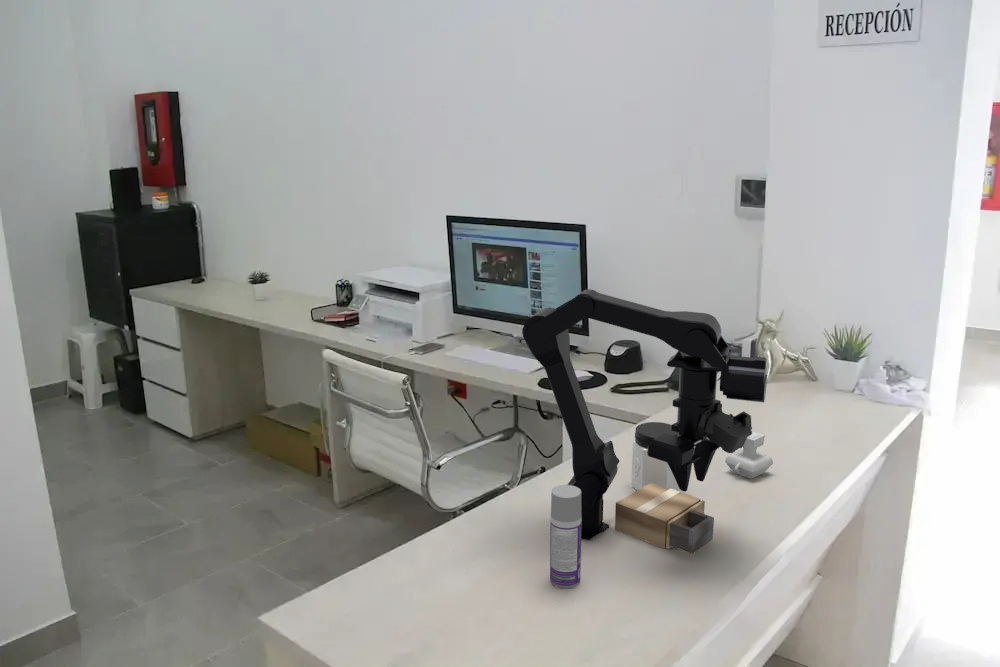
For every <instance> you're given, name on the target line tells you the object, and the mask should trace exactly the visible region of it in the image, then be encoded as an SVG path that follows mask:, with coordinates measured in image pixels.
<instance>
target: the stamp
mask: <svg viewBox="0 0 1000 667" xmlns="http://www.w3.org/2000/svg"><path fill="white" fill-rule="evenodd" d="M765 437H766V435H765V434H762V433H759V432H755V431H752V435H750V436H748V437H747V439H746V441H745V443H744V445H743V447H742V448H743V449H741V450H739V451H735V452H734V453H730V454H729V455H727V456H726V458H725V460H724V462H725V463H726V464H725V465H726V466H728V468H729V469H730V470H731V472H733V473H735V474H738V475H740V476H743V477H745V478H748V479H754V478H756V477H757V476H760V475H762V474H765V472H766V471H767V470H769V469H770V468H771V466H772V465H773V464H774V460H773V458H772V457H771V456H768V455H767V454H763V453H760V452H757V448H760V447H762V446H764V444H765V443H764V442H765Z"/></svg>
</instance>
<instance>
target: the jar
mask: <svg viewBox="0 0 1000 667" xmlns="http://www.w3.org/2000/svg"><path fill="white" fill-rule="evenodd" d="M671 429H672V424H670V423H665V422H661V421H651V422H650V421H647V422H643V423H640V424H638V425H636V427H635V432H634V438H635V439H634V440H632V456H631V458H632V459H631V482H630V484H631V486H632V487H633V488H634V490H636V491H637V490H639V489H641V488H643V487H644V486H646V485H648V484H650V483H651V482H652V483H655V484H658V485H661V486H664V487H667V488H670V489H674V490H677V491H679V490H680V489H679V486H678V484H677V482H676V480H675V478H674V476H673V473H672V471H671V469H670V467H669V465H668V463H667V462H665V461H661V460H658V459H655V458H652V457H649V456H648V455H647V447H648V443H649V442H650V441H651V440H653V439H655V438H657V437H659V436H661V435H663V434H664V433H665V434H669V435H672V436H675V437H677V436H679V432H675V431H672V430H671Z"/></svg>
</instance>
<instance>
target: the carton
mask: <svg viewBox="0 0 1000 667" xmlns="http://www.w3.org/2000/svg"><path fill="white" fill-rule="evenodd" d="M700 501H702V500H701V498H699V497H696V496H692V495H689V494H687V493H684V492H682V491H681V490H680V491H679V490H674V489H670V488H667V487H664V486H661V485H658V484H655V483H652V482H651V483H650V484H648V485H646V486H644V487H643V488H641V489H639V490H636V491H634V492H632V493H630V494H629V495H627V496H625V497H623V498H622V499H620V500H617V501H616V502H615V510H614V511H615V512H614V514H615V515H614V516H615V517H614V530H615V531H618V532H621V533H623V534H626V535H629V536H631V537H633V538H636V539H639V540H640V541H641V540H642V541H644V542H647V543H649V544H651V545H654V546H655V547H657V548H658V547H659V548H661V549H667V548H666V541H667V523H668V522H669V521H671V520H672V519H674V518H675V517H677V516H678V515H680V514H682V513H683V512H685V511H686V510H688V509H689V508H691V507H692V506H694V505H696V504H697V503H699V502H700Z"/></svg>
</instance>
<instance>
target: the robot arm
mask: <svg viewBox="0 0 1000 667" xmlns="http://www.w3.org/2000/svg"><path fill="white" fill-rule="evenodd" d="M585 319H590V320H594V321H597V322H600V323H601V322H602V323H605V324H608V325H612V326H615V327H620V328H623V329H626V330H629V331H633V332H635V333H636V332H637V333H640V334H644V335H647V336H651V337H654V338H656V339H659V340H661V341H662V342H663V343H665V344H667V345H668V346H670V347H671V348H673V349H674V350H675V351H676V350H677V351H676V353H675V354H674V355H672V356H670V358H669V359H668V361H667V363H666V366H668V367H670V368H678V369H679V375H678V376H679V378H678V380H679V381H678V397H676V398H674V399H673V400H672V407H674V408H677V418H676V422H674V423H672V424H671V425H672V429H671V430H672V431H675V432H679V436H677V437H675V436H672V435H669V434H665V433H664V434H663V435H661V436H659V437H657V438H655V439H653V440H651V441H650V442H649V443H648V447H647V455H648V456H649V457H652V458H655V459H658V460H661V461H665V462H667V463H668V465H669V467H670V469H671V471H672V473H673V476H674V478H675V480H676V482H677V484H678V486H679V490H680V492H683V493H684V492H685V493H686V492H687V491H688V488H689V484H690V479H691V473H692V466H693V470H694V474H695V477H696V480H697V481H699V482H704V481H705V478H706V476H707V474H708V471H709V468H710V466H711V464H712V460H713V458H714V455H715V453H716V451H717V450H718V449H719V448H721V450H722V451H724V452H725V453H728V454H733V453H736V452H737V450H739V449H742V448H743V445H744V443H745V441H746V439H747V437H748V436H750V435H752V432H753V431H752V429H753V427H752V415H750V414H749V413H747V412H746V411H742V412H740V413H738V414H736V415H734V414H732V413H729V414H727V413H725V412H723V403H722V402H721V400H719V399H716V397H717V396H716V394H717V383H718V382H717V380H718V372H720V378H719V391H720V392H722V396H725V397H726V399H729V400H736V401H747V402H757V403H765V402H766V401H765V400H766V394H767V385H768V374H767V357H765V356H764V357H763V356H752V357H749V356H740V355H738V356H737V355H733V350H732V349H731V347H730V346H729V344H728V343H727V341H726V340H725V339H724V337H723V336H722V328H721V325H720V322H719V321H718V320H717V317H715V316H714V315H711V314H710V313H705V312H695V311H687V310H685V311H670V310H662V309H658V308H655V307H653V306H652V307H651V306H647V305H644V304H641V303H636V302H633V301H629V300H625V299H622V298H618V297H615V296H611V295H608V294H605V293H604V294H603V293H600V292H598V291H596V290H594V289H590V288H587V289H584V290H583V291H580V293H579V294H577V295H576V296H575V297H573V298H571V299H570V300H567V301H566V302H564V303H562V304H560V305H559V306H557V307H556V308H555V307H554V308H553V307H544V308H541V310H539V311H537V312H536V313H534V314H533V315H531V316H530V317H529V318H528V319H526V321H524V324H523V327H522V330H521V332H522V338H523V340H524V342H525V344H526V345H527V347H528V349H529V351H530V352H531V355H532V356H533V357H534V358H535V360H536V361H537V362H538V363H539V364H540V365H541V366H542V367H543V370H544V371H545V373H546V376H547V379H548V382H549V385H550V387H551V390H552V393H553V396H554V398H555V402H556V405H557V408H558V410H559V413H560V415H561V418H562V421H563V424H564V427H565V429H566V433H567V435H568V438H569V440H570V443H571V448H572V450H571V451H572V454H571V455H572V471H573V476H572V478H571V479H570V480H569V481H568V482H567V484H566V485H572V486H575V487H578V488H579V489H580V490H581V519H582V526H581V540H584V541H589V540H592V539H594V538H595V537H597V536H598V535H600V534H602V533H603V532H605V531H606V530H608V529H609V528H610V524H609V523H606V522H604V521H603V520H604V494H605V493H607V491H608V489H609V487H610V486H611V484H612V482H613V481H614V480H615V477H616V475H617V474H618V469H619V468H618V465H619V463H620V459H619V458H618V456H617V455H616V452H615V449H614V443H613V440H609V441H607V442H604V441H603V440H602V439H601V437H600V436H598V433H597V431H596V429H595V426H594V423H593V419H592V417H591V414H590V411H589V408H588V406H587V403H586V400H585V397H584V394H583V391H582V389H581V385H580V383H579V379H578V377H577V374H576V371H575V369H574V365H573V363H572V360H571V352H570V350H571V349H570V348H571V347H570V346H571V345H570V344H571V343H570V342H571V341H570V340H571V339H570V332H569V328H572V327H573V326H575V325H577V324H578V323H580V322H581V321H583V320H585Z"/></svg>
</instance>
